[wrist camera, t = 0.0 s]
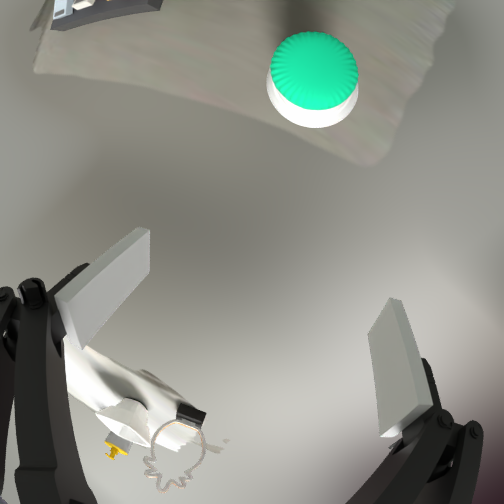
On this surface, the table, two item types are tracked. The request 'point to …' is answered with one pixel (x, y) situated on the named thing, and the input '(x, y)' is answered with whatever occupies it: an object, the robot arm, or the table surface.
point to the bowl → (127, 421)
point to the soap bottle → (117, 445)
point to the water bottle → (313, 79)
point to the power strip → (104, 12)
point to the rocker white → (82, 4)
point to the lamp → (186, 418)
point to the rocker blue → (62, 8)
